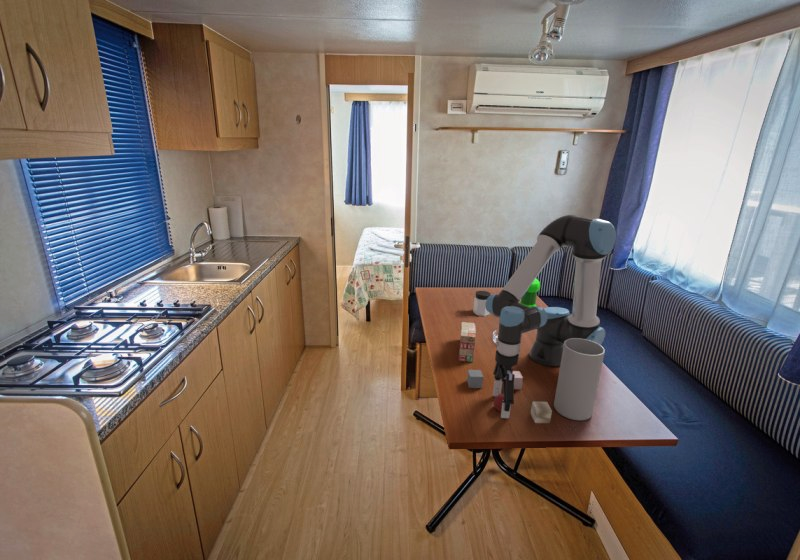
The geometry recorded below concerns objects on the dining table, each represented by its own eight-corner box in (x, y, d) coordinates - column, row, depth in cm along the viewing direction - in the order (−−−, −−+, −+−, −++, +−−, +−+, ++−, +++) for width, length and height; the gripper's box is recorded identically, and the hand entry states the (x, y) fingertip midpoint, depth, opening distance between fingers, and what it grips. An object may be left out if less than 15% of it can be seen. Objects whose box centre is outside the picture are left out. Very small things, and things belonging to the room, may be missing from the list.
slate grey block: (479, 381, 160) (480, 370, 159) (482, 388, 156) (483, 376, 154) (467, 380, 160) (468, 369, 159) (468, 388, 156) (470, 376, 154)
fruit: (507, 410, 146) (505, 387, 148) (514, 412, 140) (512, 388, 142) (491, 411, 145) (489, 388, 147) (497, 413, 140) (495, 389, 141)
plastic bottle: (513, 312, 230) (519, 270, 222) (523, 308, 236) (529, 267, 229) (529, 318, 223) (535, 274, 215) (539, 313, 229) (545, 271, 222)
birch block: (544, 414, 141) (546, 401, 140) (549, 423, 137) (552, 410, 135) (530, 413, 141) (532, 401, 140) (534, 423, 137) (536, 410, 135)
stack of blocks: (460, 339, 196) (462, 315, 192) (473, 340, 195) (475, 317, 191) (458, 361, 175) (460, 335, 172) (473, 362, 174) (475, 336, 171)
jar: (491, 315, 224) (493, 295, 221) (477, 316, 223) (479, 296, 219) (484, 309, 233) (486, 290, 229) (471, 310, 231) (473, 290, 227)
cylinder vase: (554, 396, 152) (564, 335, 144) (591, 405, 147) (603, 342, 139) (552, 415, 141) (563, 350, 133) (592, 425, 136) (605, 358, 128)
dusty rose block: (517, 382, 160) (519, 371, 159) (521, 389, 156) (522, 378, 154) (505, 382, 160) (506, 370, 159) (508, 389, 156) (509, 377, 154)
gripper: (489, 335, 150) (483, 386, 156) (505, 369, 126) (497, 428, 133) (509, 336, 150) (503, 387, 156) (529, 370, 126) (520, 428, 133)
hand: (500, 406), depth 145 cm, fingers open, 12 cm apart
